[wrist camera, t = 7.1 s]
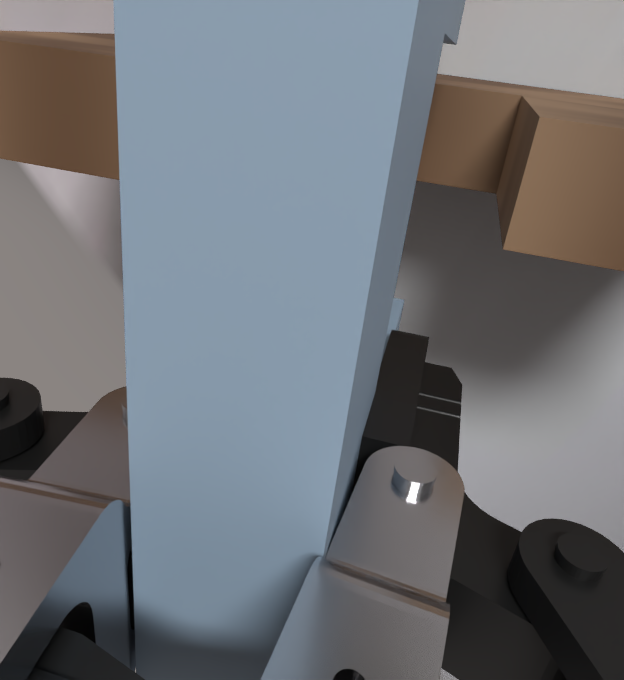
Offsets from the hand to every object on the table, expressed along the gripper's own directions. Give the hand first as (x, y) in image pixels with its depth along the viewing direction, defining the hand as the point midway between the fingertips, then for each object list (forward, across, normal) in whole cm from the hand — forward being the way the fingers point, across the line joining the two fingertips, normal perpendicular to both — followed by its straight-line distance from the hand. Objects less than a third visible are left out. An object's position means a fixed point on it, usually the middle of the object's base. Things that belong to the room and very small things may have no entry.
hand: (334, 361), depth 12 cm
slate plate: (+2, 0, -3) cm, 4 cm away
